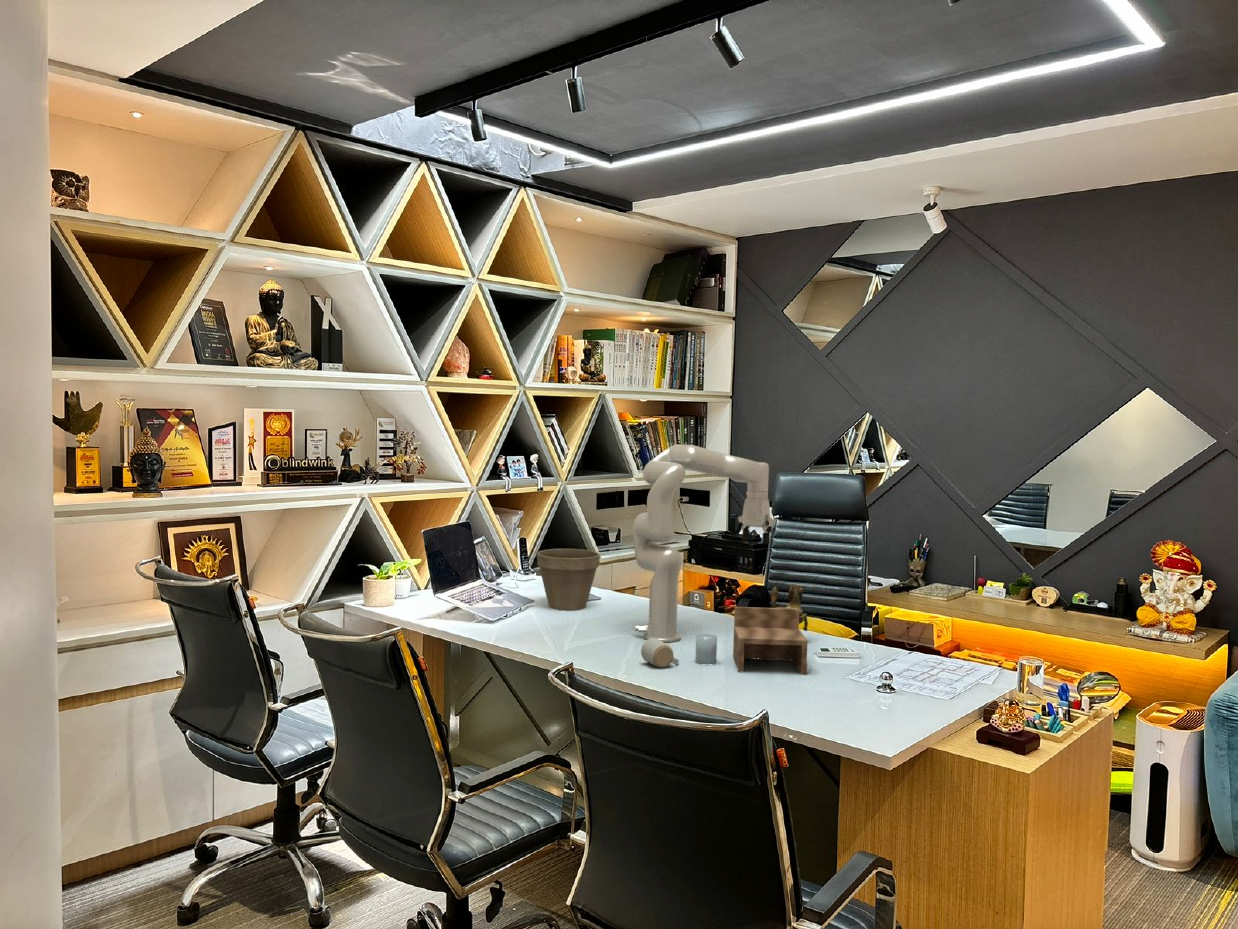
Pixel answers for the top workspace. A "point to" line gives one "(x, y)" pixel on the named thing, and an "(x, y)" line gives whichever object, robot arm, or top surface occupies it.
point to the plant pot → (567, 576)
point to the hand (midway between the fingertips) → (755, 542)
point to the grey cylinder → (706, 649)
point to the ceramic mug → (657, 653)
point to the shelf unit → (768, 636)
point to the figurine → (792, 602)
